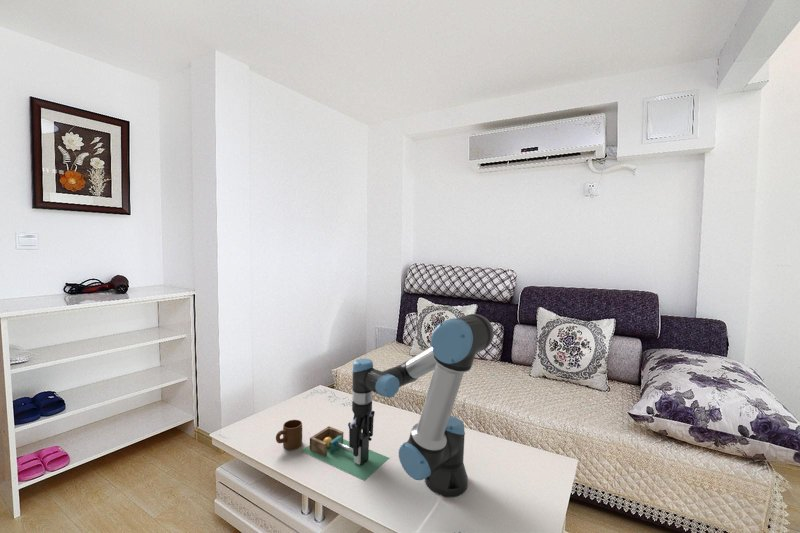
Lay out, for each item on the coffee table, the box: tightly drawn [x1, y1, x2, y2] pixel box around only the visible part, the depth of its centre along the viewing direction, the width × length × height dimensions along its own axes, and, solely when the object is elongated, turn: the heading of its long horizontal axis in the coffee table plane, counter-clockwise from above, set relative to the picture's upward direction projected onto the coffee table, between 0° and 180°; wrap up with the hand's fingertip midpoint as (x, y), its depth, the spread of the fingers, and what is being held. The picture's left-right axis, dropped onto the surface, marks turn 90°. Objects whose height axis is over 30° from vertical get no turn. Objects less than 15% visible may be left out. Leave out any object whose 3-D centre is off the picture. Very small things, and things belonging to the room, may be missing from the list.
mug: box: [275, 419, 303, 451], centre depth 145 cm, size 12×8×9 cm, turn 148°
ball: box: [323, 437, 332, 448], centre depth 146 cm, size 4×4×4 cm
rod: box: [329, 431, 370, 465], centre depth 140 cm, size 16×6×10 cm, turn 58°
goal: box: [309, 426, 344, 457], centre depth 146 cm, size 8×11×5 cm
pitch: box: [301, 438, 390, 482], centre depth 142 cm, size 32×16×1 cm, turn 58°
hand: (361, 459), depth 137 cm, fingers closed on rod, 4 cm apart
